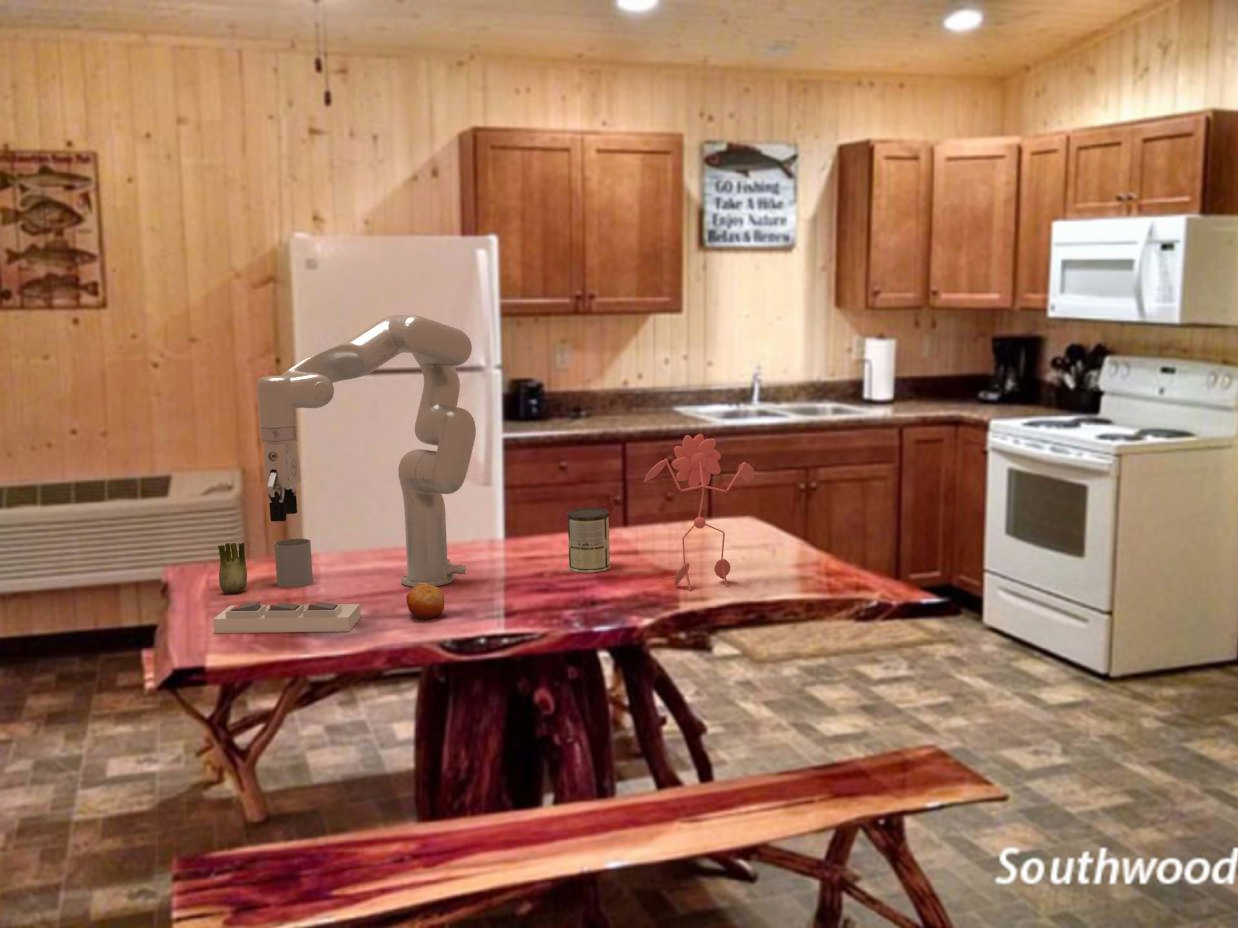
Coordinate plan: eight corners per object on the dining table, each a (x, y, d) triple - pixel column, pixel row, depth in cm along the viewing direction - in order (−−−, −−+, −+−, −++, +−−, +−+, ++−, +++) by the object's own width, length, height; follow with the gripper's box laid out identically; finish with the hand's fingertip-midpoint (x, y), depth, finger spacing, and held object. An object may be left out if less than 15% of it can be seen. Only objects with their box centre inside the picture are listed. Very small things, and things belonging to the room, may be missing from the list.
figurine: (762, 583, 276) (759, 433, 271) (658, 595, 268) (653, 441, 263) (734, 570, 290) (731, 427, 286) (634, 581, 282) (630, 434, 277)
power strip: (360, 617, 255) (359, 597, 255) (349, 631, 245) (347, 610, 245) (231, 619, 256) (229, 599, 255) (214, 632, 246) (212, 612, 245)
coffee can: (562, 566, 297) (560, 510, 295) (599, 561, 301) (598, 506, 299) (578, 575, 288) (577, 517, 285) (617, 569, 292) (616, 513, 290)
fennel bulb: (249, 589, 280) (245, 539, 279) (243, 595, 276) (240, 544, 274) (224, 590, 280) (220, 540, 278) (218, 595, 275) (214, 545, 274)
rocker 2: (336, 609, 249) (336, 603, 249) (332, 614, 246) (332, 608, 246) (312, 606, 249) (313, 600, 249) (308, 610, 246) (308, 604, 246)
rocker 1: (260, 606, 250) (259, 600, 249) (255, 611, 246) (254, 605, 246) (237, 611, 250) (236, 605, 250) (232, 615, 247) (231, 609, 246)
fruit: (428, 601, 262) (436, 574, 257) (444, 625, 257) (453, 599, 253) (395, 608, 257) (403, 580, 252) (411, 633, 252) (419, 606, 248)
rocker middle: (298, 610, 249) (298, 604, 249) (293, 614, 246) (294, 608, 246) (274, 606, 249) (275, 600, 249) (269, 610, 246) (270, 604, 246)
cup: (303, 588, 281) (300, 546, 279) (270, 587, 282) (267, 545, 281) (318, 579, 289) (316, 538, 287) (287, 578, 290) (284, 538, 289)
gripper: (284, 440, 243) (289, 525, 246) (308, 429, 260) (313, 509, 263) (247, 440, 243) (253, 526, 246) (274, 429, 260) (279, 509, 263)
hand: (284, 516), depth 254 cm, fingers open, 7 cm apart
